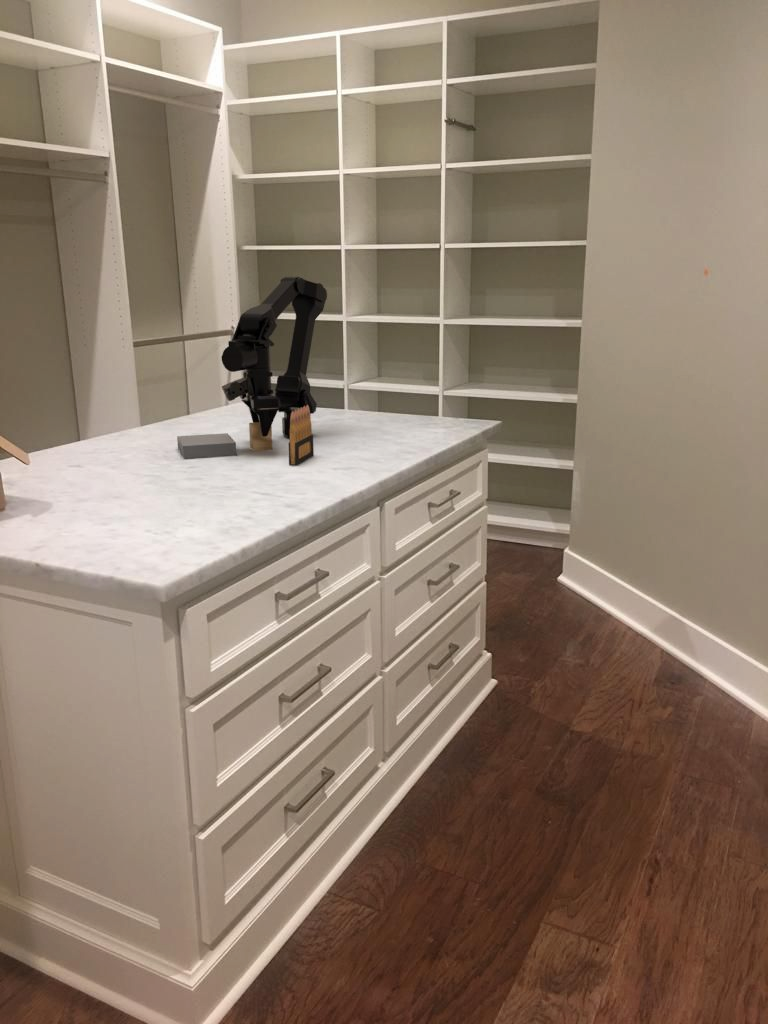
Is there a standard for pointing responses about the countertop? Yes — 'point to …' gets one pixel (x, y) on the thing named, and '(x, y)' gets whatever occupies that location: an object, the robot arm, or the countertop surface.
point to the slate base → (206, 445)
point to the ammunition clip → (300, 436)
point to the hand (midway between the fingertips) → (260, 432)
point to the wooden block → (259, 438)
